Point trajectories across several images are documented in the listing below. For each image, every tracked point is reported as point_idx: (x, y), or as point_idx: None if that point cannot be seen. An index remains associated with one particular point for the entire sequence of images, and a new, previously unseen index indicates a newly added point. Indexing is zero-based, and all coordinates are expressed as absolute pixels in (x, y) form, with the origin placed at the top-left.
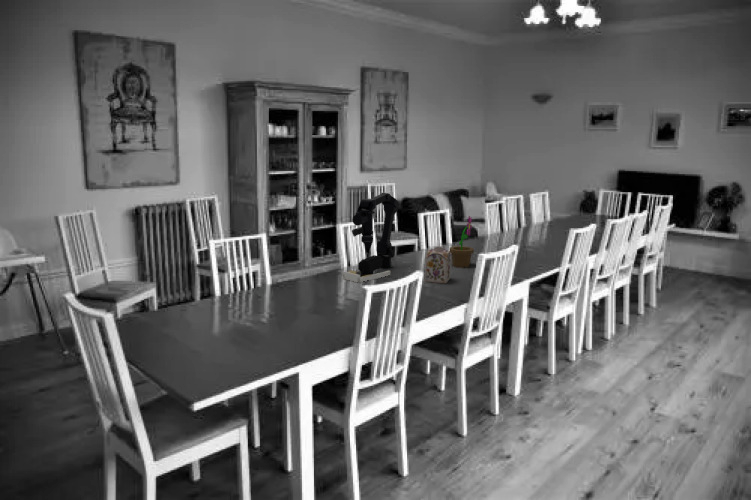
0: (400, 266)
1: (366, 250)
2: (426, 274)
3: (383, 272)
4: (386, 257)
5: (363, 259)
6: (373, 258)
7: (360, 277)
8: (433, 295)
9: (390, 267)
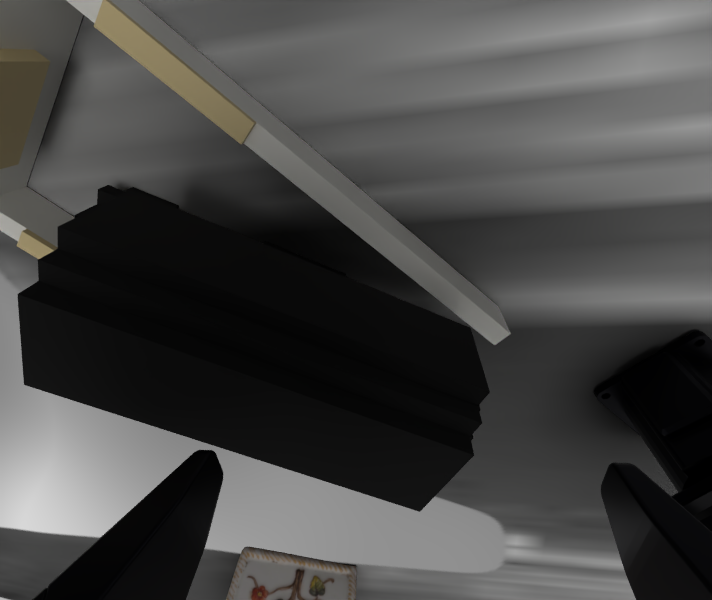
0: (665, 476)
1: (151, 503)
2: (228, 596)
3: None
4: (684, 489)
5: (101, 331)
6: (236, 450)
7: (2, 219)
8: (18, 545)
9: (628, 423)
